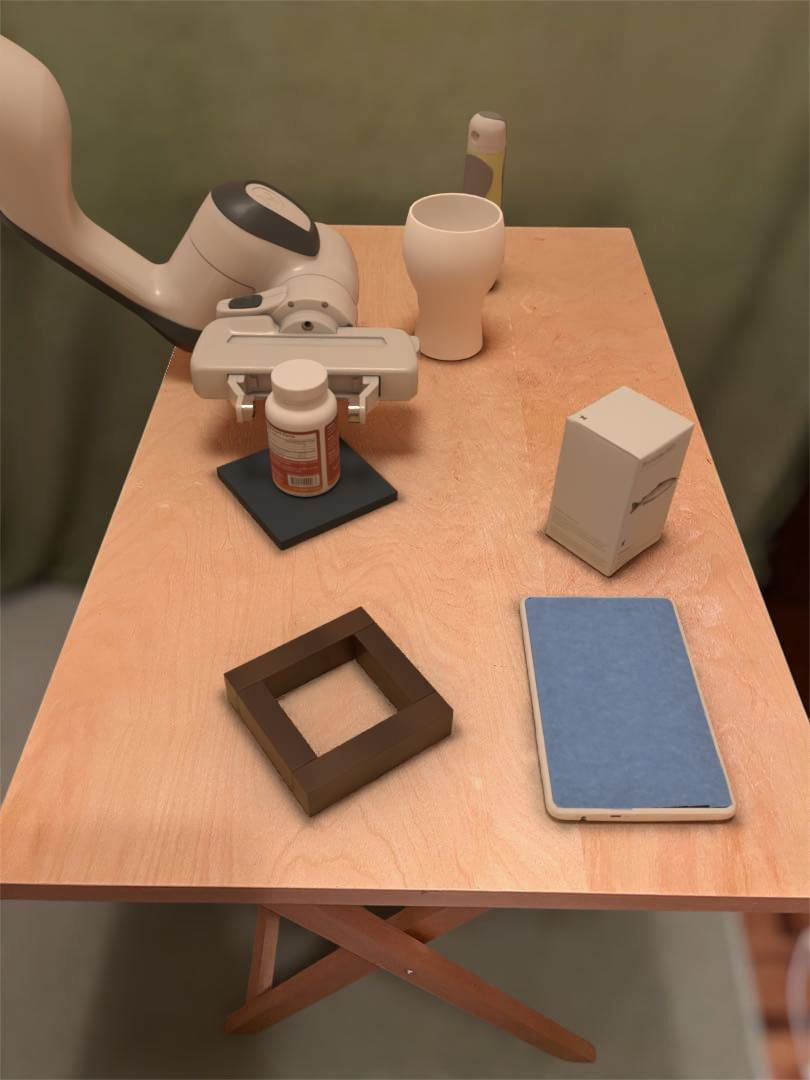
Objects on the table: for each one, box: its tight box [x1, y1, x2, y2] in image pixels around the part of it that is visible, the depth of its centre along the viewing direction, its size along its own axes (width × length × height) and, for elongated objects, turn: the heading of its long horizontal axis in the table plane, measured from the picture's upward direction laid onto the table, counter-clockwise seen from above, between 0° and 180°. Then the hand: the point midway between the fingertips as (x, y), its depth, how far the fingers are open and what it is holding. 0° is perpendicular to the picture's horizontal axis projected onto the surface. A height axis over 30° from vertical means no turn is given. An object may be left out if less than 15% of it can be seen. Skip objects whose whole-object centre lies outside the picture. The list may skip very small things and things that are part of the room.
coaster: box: [216, 435, 399, 551], centre depth 83 cm, size 12×12×1 cm
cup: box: [402, 192, 507, 361], centre depth 97 cm, size 11×11×15 cm
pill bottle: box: [264, 359, 340, 497], centre depth 79 cm, size 6×6×11 cm
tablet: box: [518, 595, 737, 822], centre depth 66 cm, size 19×13×1 cm, turn 1°
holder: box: [223, 605, 454, 818], centre depth 64 cm, size 12×12×3 cm
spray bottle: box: [462, 110, 508, 289], centre depth 105 cm, size 5×5×20 cm
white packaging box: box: [544, 384, 696, 577], centre depth 75 cm, size 7×7×13 cm
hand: (300, 416), depth 77 cm, fingers open, 8 cm apart
